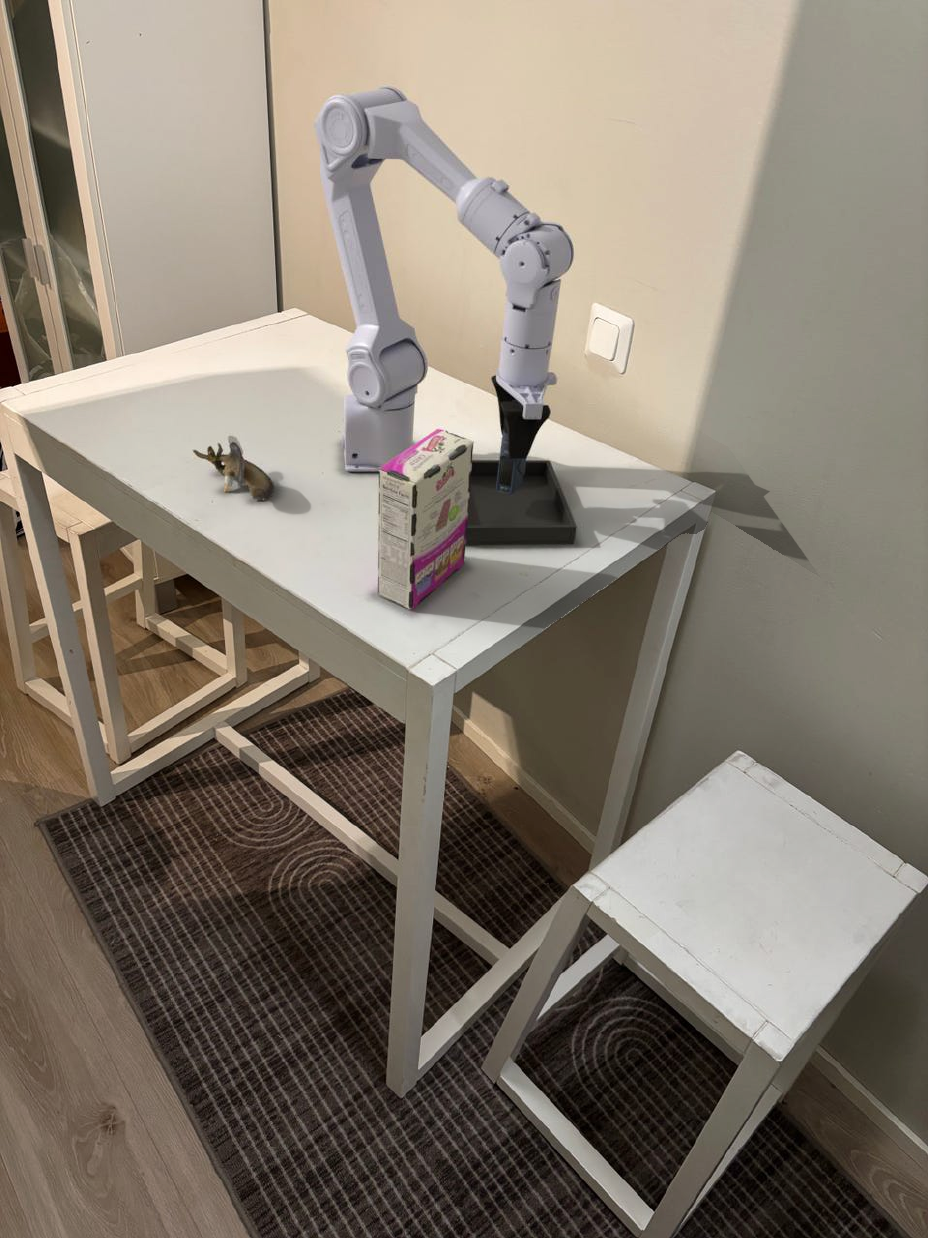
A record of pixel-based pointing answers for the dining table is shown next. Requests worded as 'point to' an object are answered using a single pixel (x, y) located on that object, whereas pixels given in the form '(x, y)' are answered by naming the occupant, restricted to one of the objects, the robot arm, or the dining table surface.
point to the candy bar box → (423, 517)
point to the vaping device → (509, 467)
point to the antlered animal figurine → (239, 469)
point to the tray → (518, 508)
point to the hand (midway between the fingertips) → (513, 445)
